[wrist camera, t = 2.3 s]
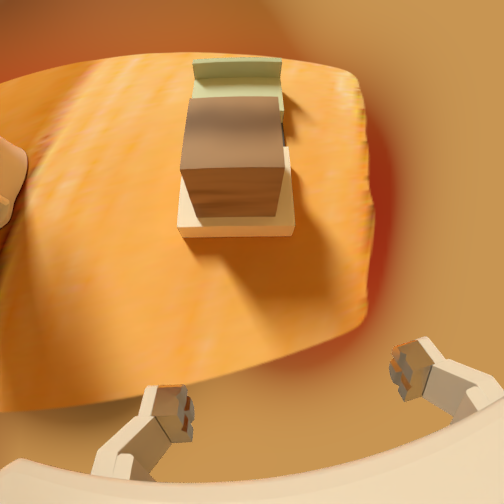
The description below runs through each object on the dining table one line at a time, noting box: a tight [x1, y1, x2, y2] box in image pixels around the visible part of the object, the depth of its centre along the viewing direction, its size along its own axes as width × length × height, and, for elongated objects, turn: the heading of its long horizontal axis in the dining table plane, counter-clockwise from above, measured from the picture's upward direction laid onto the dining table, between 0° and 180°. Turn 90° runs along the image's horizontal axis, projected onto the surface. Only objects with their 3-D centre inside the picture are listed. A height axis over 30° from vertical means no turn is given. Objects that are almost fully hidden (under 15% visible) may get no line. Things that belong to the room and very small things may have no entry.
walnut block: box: [180, 96, 285, 218], centre depth 28 cm, size 8×8×9 cm
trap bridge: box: [177, 57, 295, 238], centre depth 35 cm, size 24×12×6 cm, turn 1°
